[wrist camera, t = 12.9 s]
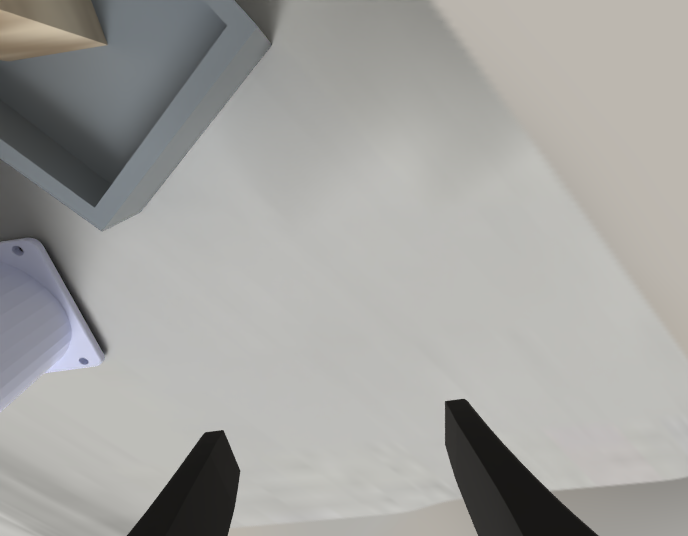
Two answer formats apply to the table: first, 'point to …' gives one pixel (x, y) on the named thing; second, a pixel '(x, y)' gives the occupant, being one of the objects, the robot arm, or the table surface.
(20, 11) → the block
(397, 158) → the table surface
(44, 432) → the table surface
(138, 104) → the tray
